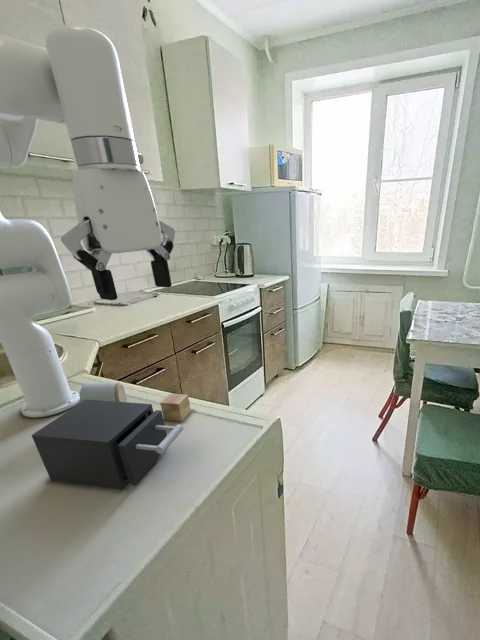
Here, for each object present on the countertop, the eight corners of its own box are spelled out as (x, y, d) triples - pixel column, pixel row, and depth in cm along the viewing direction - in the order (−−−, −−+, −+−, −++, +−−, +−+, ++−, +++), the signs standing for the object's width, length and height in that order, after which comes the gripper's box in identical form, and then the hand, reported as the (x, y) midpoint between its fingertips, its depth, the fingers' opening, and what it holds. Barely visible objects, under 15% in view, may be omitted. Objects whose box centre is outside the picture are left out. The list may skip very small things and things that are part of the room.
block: (163, 420, 80) (159, 402, 78) (173, 410, 84) (170, 393, 82) (182, 421, 79) (178, 404, 77) (191, 411, 83) (187, 394, 81)
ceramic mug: (123, 416, 82) (115, 386, 79) (85, 422, 80) (75, 391, 77) (131, 397, 91) (124, 369, 88) (97, 401, 90) (88, 374, 87)
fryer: (161, 445, 71) (151, 403, 66) (123, 489, 60) (107, 442, 55) (98, 439, 74) (85, 399, 69) (50, 480, 63) (31, 435, 58)
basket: (193, 447, 68) (187, 412, 65) (163, 487, 58) (153, 448, 55) (109, 439, 72) (98, 405, 69) (67, 476, 62) (52, 439, 59)
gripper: (144, 168, 54) (166, 281, 62) (21, 157, 41) (67, 303, 49) (178, 161, 51) (197, 283, 58) (54, 147, 38) (99, 307, 45)
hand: (138, 292), depth 53 cm, fingers open, 9 cm apart
